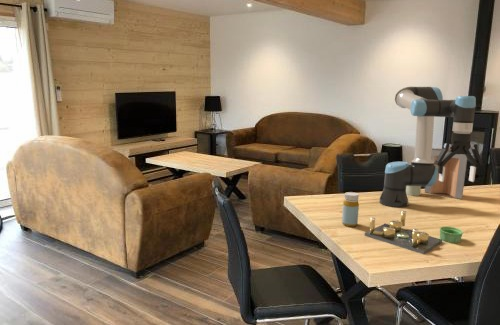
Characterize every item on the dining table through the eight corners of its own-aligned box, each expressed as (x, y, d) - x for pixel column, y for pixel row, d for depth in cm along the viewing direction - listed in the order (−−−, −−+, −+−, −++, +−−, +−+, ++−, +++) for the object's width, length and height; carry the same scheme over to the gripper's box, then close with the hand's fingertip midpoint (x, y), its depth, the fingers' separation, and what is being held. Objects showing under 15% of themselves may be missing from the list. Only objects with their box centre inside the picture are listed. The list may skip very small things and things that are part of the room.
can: (401, 193, 241) (403, 174, 239) (408, 191, 247) (410, 172, 245) (416, 196, 234) (418, 177, 232) (423, 194, 241) (425, 175, 238)
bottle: (348, 228, 181) (351, 196, 178) (338, 223, 187) (340, 192, 184) (360, 225, 184) (362, 194, 181) (350, 221, 190) (352, 191, 187)
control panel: (364, 235, 172) (364, 231, 172) (384, 225, 184) (385, 221, 184) (423, 254, 153) (424, 249, 153) (442, 242, 166) (442, 237, 165)
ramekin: (451, 245, 163) (452, 235, 162) (433, 237, 171) (434, 227, 170) (466, 242, 167) (467, 232, 166) (448, 234, 175) (449, 225, 174)
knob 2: (397, 231, 173) (399, 217, 171) (387, 228, 176) (388, 214, 175) (408, 226, 180) (410, 212, 179) (398, 223, 183) (399, 209, 182)
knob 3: (418, 237, 166) (419, 222, 165) (430, 241, 163) (431, 226, 161) (406, 244, 159) (408, 228, 158) (418, 247, 156) (420, 232, 154)
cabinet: (424, 192, 244) (429, 148, 238) (430, 190, 251) (434, 146, 245) (461, 199, 230) (467, 152, 224) (465, 196, 237) (471, 150, 231)
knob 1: (395, 234, 169) (396, 220, 168) (393, 238, 165) (395, 223, 163) (370, 230, 174) (371, 216, 172) (368, 234, 169) (369, 219, 168)
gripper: (438, 133, 163) (433, 183, 167) (496, 133, 164) (489, 183, 168) (429, 131, 170) (424, 179, 174) (484, 131, 172) (478, 179, 176)
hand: (456, 181), depth 171 cm, fingers open, 13 cm apart
